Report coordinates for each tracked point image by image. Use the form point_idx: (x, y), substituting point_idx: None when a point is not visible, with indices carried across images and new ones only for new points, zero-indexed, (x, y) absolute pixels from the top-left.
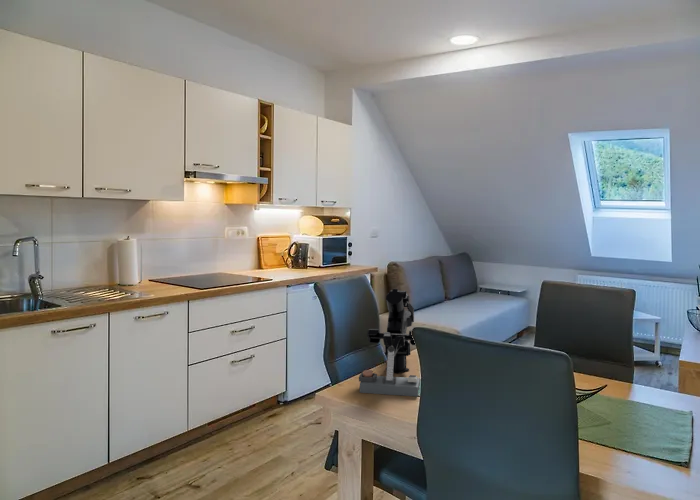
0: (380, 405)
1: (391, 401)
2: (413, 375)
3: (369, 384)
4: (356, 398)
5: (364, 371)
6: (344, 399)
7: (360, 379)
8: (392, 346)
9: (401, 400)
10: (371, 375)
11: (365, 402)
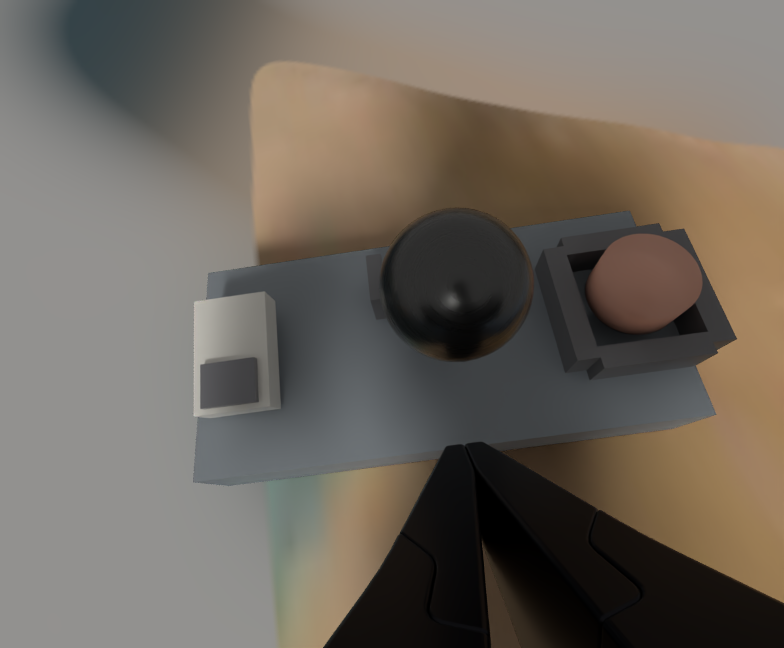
0: (414, 135)
1: (372, 193)
2: (223, 390)
3: (554, 222)
4: (574, 169)
5: (682, 263)
6: (630, 138)
7: None
8: (422, 235)
9: (322, 221)
10: (592, 271)
11: (501, 141)
